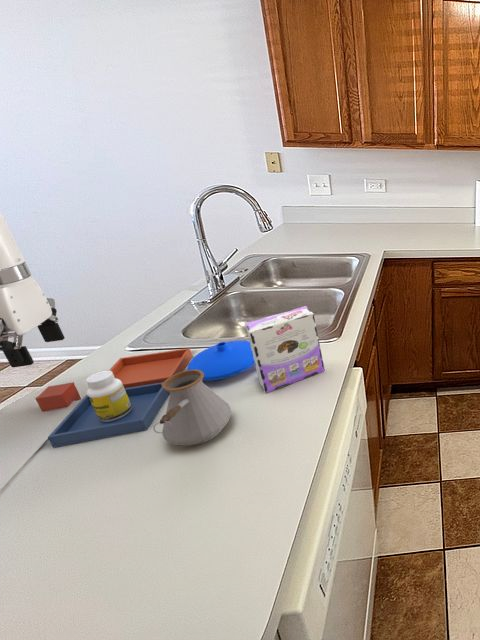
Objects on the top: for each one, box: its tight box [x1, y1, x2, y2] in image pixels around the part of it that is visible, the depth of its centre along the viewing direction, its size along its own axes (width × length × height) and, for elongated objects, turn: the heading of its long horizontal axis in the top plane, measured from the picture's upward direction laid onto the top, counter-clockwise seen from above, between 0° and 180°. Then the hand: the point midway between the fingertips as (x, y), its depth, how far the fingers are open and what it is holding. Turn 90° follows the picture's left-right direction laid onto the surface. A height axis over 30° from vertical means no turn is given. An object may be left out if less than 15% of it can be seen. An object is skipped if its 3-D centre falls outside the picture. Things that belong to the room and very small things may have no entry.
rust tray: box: [109, 347, 193, 389], centre depth 97 cm, size 15×13×3 cm
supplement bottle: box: [85, 369, 132, 422], centre depth 82 cm, size 5×5×10 cm
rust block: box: [35, 382, 82, 412], centre depth 86 cm, size 4×4×4 cm
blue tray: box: [47, 382, 170, 449], centre depth 84 cm, size 15×13×3 cm
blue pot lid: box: [187, 340, 255, 381], centre depth 99 cm, size 16×16×7 cm
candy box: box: [244, 305, 325, 394], centre depth 94 cm, size 14×6×16 cm, turn 130°
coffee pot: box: [153, 369, 232, 447], centre depth 73 cm, size 21×12×15 cm, turn 25°
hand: (40, 352), depth 81 cm, fingers open, 9 cm apart
